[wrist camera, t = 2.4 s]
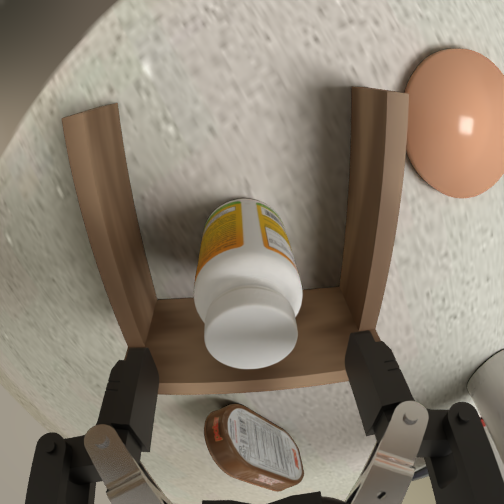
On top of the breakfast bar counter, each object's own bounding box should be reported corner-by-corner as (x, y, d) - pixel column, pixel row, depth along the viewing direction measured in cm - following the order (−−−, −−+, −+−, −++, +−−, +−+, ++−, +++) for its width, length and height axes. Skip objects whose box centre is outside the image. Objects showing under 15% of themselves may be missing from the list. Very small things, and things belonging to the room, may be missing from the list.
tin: (203, 398, 31) (200, 469, 24) (226, 388, 30) (226, 462, 23) (282, 442, 38) (288, 497, 30) (302, 434, 37) (311, 490, 29)
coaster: (512, 67, 15) (520, 69, 14) (499, 194, 21) (506, 199, 20) (400, 34, 15) (408, 33, 14) (394, 193, 20) (400, 198, 20)
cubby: (369, 87, 17) (443, 101, 10) (351, 297, 25) (385, 374, 18) (100, 106, 17) (27, 130, 10) (146, 311, 25) (124, 393, 18)
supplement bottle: (201, 265, 23) (187, 376, 14) (205, 192, 20) (186, 285, 12) (277, 271, 23) (299, 380, 15) (290, 200, 21) (329, 294, 12)
